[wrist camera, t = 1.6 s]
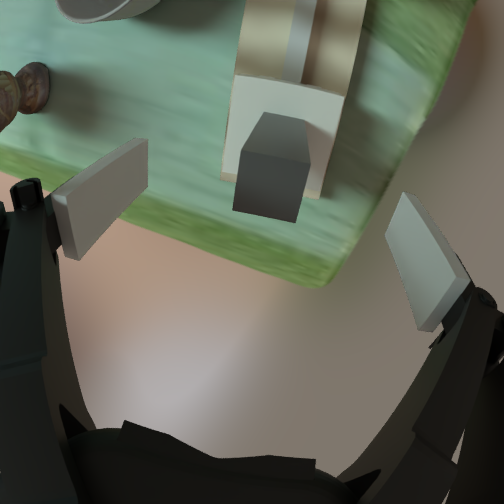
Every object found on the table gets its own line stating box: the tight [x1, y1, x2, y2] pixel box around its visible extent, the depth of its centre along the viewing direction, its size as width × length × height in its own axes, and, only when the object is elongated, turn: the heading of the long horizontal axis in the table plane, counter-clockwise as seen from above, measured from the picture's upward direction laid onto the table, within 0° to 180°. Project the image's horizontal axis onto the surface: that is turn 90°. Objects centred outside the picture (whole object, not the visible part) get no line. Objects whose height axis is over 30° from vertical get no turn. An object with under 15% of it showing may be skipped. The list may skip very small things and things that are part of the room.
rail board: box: [220, 0, 367, 200], centre depth 22 cm, size 24×10×4 cm, turn 171°
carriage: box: [222, 74, 345, 223], centre depth 19 cm, size 8×8×14 cm
